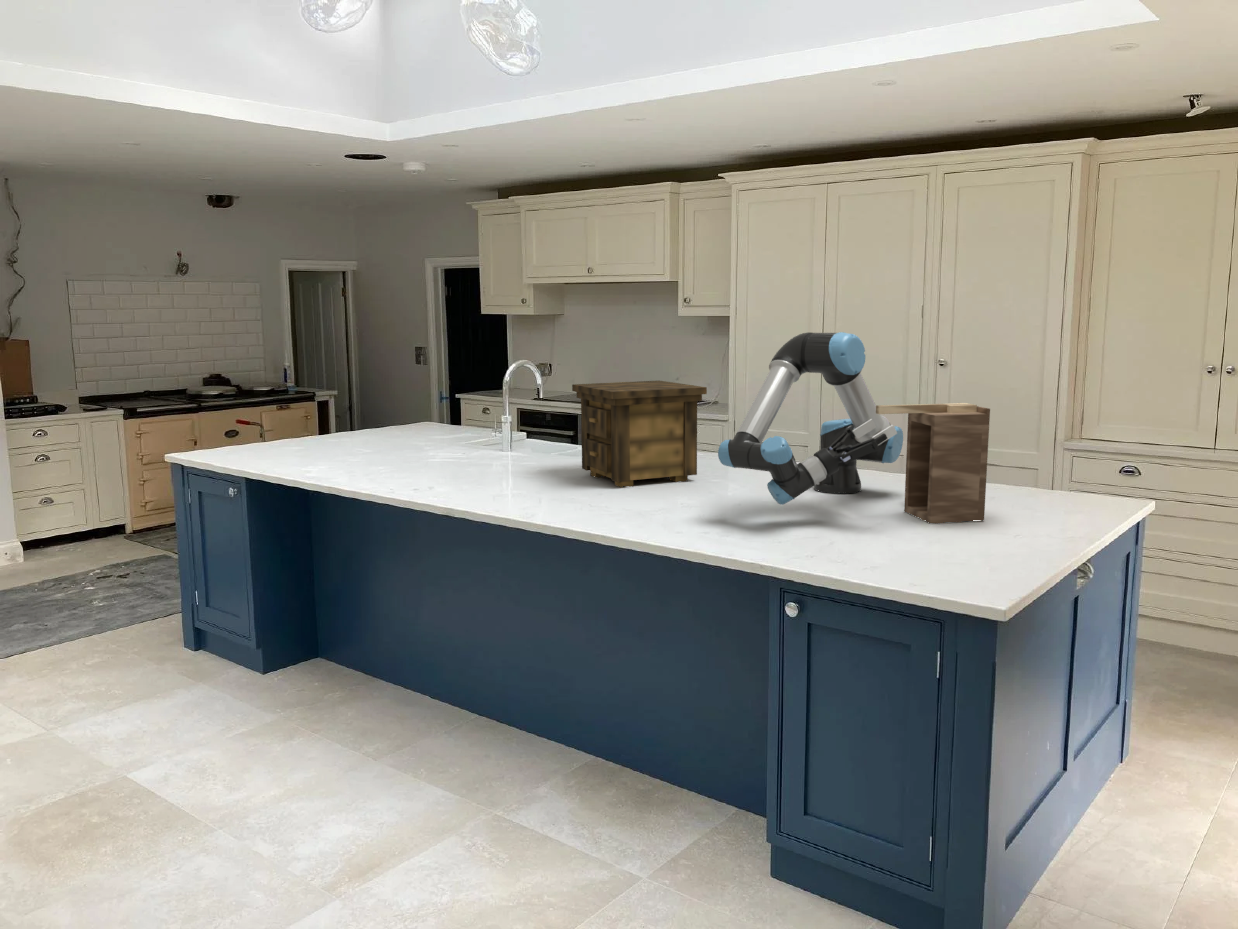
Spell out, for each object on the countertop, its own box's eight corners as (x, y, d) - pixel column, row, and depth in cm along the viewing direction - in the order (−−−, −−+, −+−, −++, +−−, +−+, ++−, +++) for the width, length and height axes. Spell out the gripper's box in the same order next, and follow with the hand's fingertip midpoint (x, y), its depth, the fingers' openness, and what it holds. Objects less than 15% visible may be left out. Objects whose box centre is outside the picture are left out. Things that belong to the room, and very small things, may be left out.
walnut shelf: (904, 511, 280) (908, 404, 275) (955, 509, 283) (960, 402, 277) (930, 523, 264) (935, 410, 259) (984, 521, 267) (990, 408, 262)
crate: (706, 481, 330) (706, 387, 325) (613, 490, 316) (612, 391, 310) (659, 467, 362) (659, 380, 356) (573, 474, 347) (572, 384, 342)
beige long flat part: (873, 412, 268) (873, 404, 268) (966, 410, 272) (966, 402, 272) (881, 414, 263) (882, 406, 262) (976, 412, 267) (976, 404, 267)
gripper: (810, 469, 278) (871, 431, 279) (843, 485, 254) (910, 443, 255) (798, 448, 276) (859, 409, 277) (830, 461, 252) (897, 419, 253)
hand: (884, 425), depth 266 cm, fingers open, 13 cm apart
